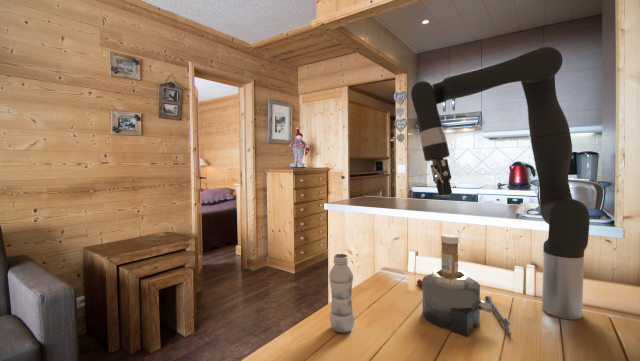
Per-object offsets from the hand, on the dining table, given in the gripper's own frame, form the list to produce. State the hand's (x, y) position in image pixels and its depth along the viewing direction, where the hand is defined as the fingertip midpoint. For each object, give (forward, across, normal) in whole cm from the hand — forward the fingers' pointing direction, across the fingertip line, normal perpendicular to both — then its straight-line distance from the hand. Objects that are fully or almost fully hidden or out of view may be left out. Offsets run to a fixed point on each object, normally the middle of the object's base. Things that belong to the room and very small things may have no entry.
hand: (445, 194), depth 100 cm
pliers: (+33, +9, +6) cm, 35 cm away
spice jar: (+24, -8, +6) cm, 26 cm away
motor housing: (+34, -8, +6) cm, 36 cm away
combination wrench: (+37, -6, -5) cm, 38 cm away
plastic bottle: (+30, -18, +37) cm, 51 cm away
